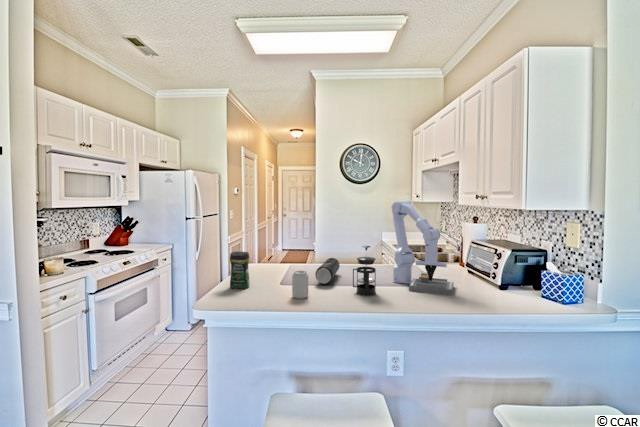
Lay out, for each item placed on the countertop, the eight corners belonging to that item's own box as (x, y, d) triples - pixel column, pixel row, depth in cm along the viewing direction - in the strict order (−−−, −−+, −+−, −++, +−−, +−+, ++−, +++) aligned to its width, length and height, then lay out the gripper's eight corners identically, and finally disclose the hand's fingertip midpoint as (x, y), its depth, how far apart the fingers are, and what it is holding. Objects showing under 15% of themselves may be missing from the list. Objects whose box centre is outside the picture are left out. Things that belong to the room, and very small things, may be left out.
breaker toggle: (421, 285, 175) (421, 276, 175) (422, 283, 178) (422, 275, 178) (427, 285, 174) (427, 276, 174) (428, 284, 177) (428, 275, 177)
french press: (376, 290, 175) (376, 244, 174) (378, 295, 166) (378, 247, 164) (352, 290, 176) (352, 244, 174) (353, 295, 166) (353, 247, 165)
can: (310, 295, 167) (310, 270, 166) (304, 300, 160) (304, 274, 159) (296, 294, 169) (295, 269, 168) (289, 298, 162) (289, 272, 161)
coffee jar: (227, 289, 178) (227, 252, 177) (233, 285, 186) (233, 250, 185) (246, 289, 176) (245, 253, 175) (251, 285, 184) (251, 250, 183)
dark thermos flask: (340, 274, 209) (340, 257, 209) (332, 287, 182) (332, 267, 181) (324, 274, 211) (324, 256, 210) (314, 286, 184) (314, 266, 183)
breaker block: (408, 290, 174) (409, 276, 174) (413, 283, 189) (413, 270, 189) (452, 295, 167) (452, 280, 166) (453, 286, 181) (453, 273, 181)
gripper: (414, 253, 173) (414, 280, 174) (446, 255, 168) (445, 283, 168) (416, 251, 180) (416, 277, 180) (447, 253, 174) (446, 280, 175)
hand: (430, 280), depth 175 cm, fingers closed
